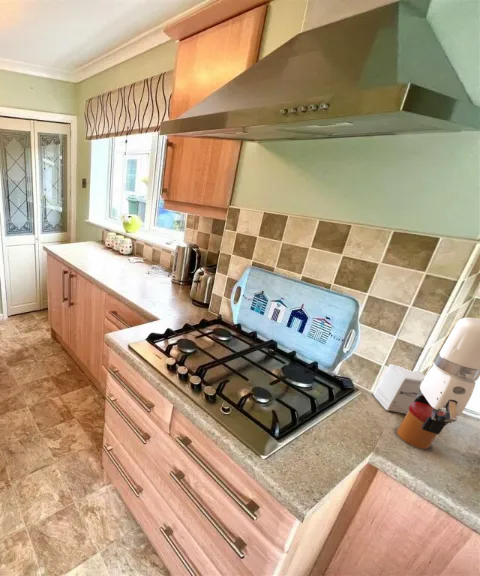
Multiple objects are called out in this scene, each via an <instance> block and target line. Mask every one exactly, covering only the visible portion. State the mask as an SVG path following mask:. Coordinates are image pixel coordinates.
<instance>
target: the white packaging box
mask: <svg viewBox="0 0 480 576" xmlns="http://www.w3.org/2000/svg"><path fill="white" fill-rule="evenodd" d="M400 366H401V365H398V366H397V365H396V364H391V363H389V364H388V366H387V368H386V370H385V372H384V374H383V375H382V377H381V380H380V381H379V383H378V385H377V387H376V389H375V391H374V393H373V396H374V398H375V399H376V400H377V401H378V402H379V404H380V405H381V406H382V407H383V409H385V410H386V411H389V412H396V413H400V414H405V415H406V414H407V413H408V411H409V406H410V404H411V403H412V402H414V401H415V399H416V398H417V393H419V388H420V385H421V380H422V379H424V377H425V376H426V374H424V373H422V371H420V370H419V369H418V371H415V372H413V371H411V370H408V369H405V368H403V367H400Z"/></svg>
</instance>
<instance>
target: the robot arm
mask: <svg viewBox="0 0 480 576" xmlns="http://www.w3.org/2000/svg"><path fill="white" fill-rule="evenodd" d="M479 378H480V318H477V317H462V318H460V319H458V320H457V322H456V323H455V325H454V327H453V328H452V330H451V331H450V334H448V337H447V339H446V340H445V342H444V343H443V345H442V348H441V349H440V351H439V352H438V355H437V356H436V357H435V359H434V361H433V363H432V366H431V367H430V369H429V370H428V371H427V373H426V374H425V377H424V379H422V380H421V385H420V388H419V393H417V398H416V399H415V401H414V402H422V403H426V404H429V405H431V406H432V407H433V410H432V415H431V417H428V418H427V420H426V421H425V423H424V425H423V426H422V429H423V430H425V431H428V432H432V433H435V434H438V435H440V433H441V432H442V431H443V430H444V428H445V427H446V425H445V424H447V425H449V424H451V423H454V422H457V420H458V417H459V416H461V414H462V413H463V412H464V410H465V408H466V407H467V405H468V404H469V402H470V399H471V397H472V395H473V392H474V390H475V386H476V381H478V379H479ZM442 408H444V409H442ZM438 411H440V412H443V413H444V416H442V415H440V416H437V415H438Z"/></svg>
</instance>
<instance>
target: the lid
mask: <svg viewBox="0 0 480 576" xmlns="http://www.w3.org/2000/svg"><path fill="white" fill-rule="evenodd" d="M432 410H433V407H432V406H431V405H429V404H426V403H422V402H412V403H411V404H410V406H409V411H410V412H411V414H413V415H414V416H415V417H416V418H418V419H420V420H421V421H423V422H425V421H426V420H427V418H428V417H431V415H432ZM440 415H442V416H444V412H440V411H438V415H437V416H440ZM447 425H448V424H445V426H447Z"/></svg>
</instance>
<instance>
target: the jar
mask: <svg viewBox="0 0 480 576" xmlns="http://www.w3.org/2000/svg"><path fill="white" fill-rule="evenodd" d="M424 423H425V422H423V421H421V420H420V419H418V418H416V417H415V416H414V415H413V414H411V412H410V411H408V413H407V414H405V416H404V417H403V420H402V421H401V423H400V425H399V426H398V428H397V430H396V434H397V436H398V437H399V438H400V439H401V440H402V441H404V442H406V443H407V444H409V445H411V446H413V447H415V448H417V449H421V450H429V449H430V447H431V446H432V444H433V443H434V442H435V440H436V438H437V436H438V435H439V434H435V433H432V432H428V431H425V430H423V429H422V426H423V425H424Z"/></svg>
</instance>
